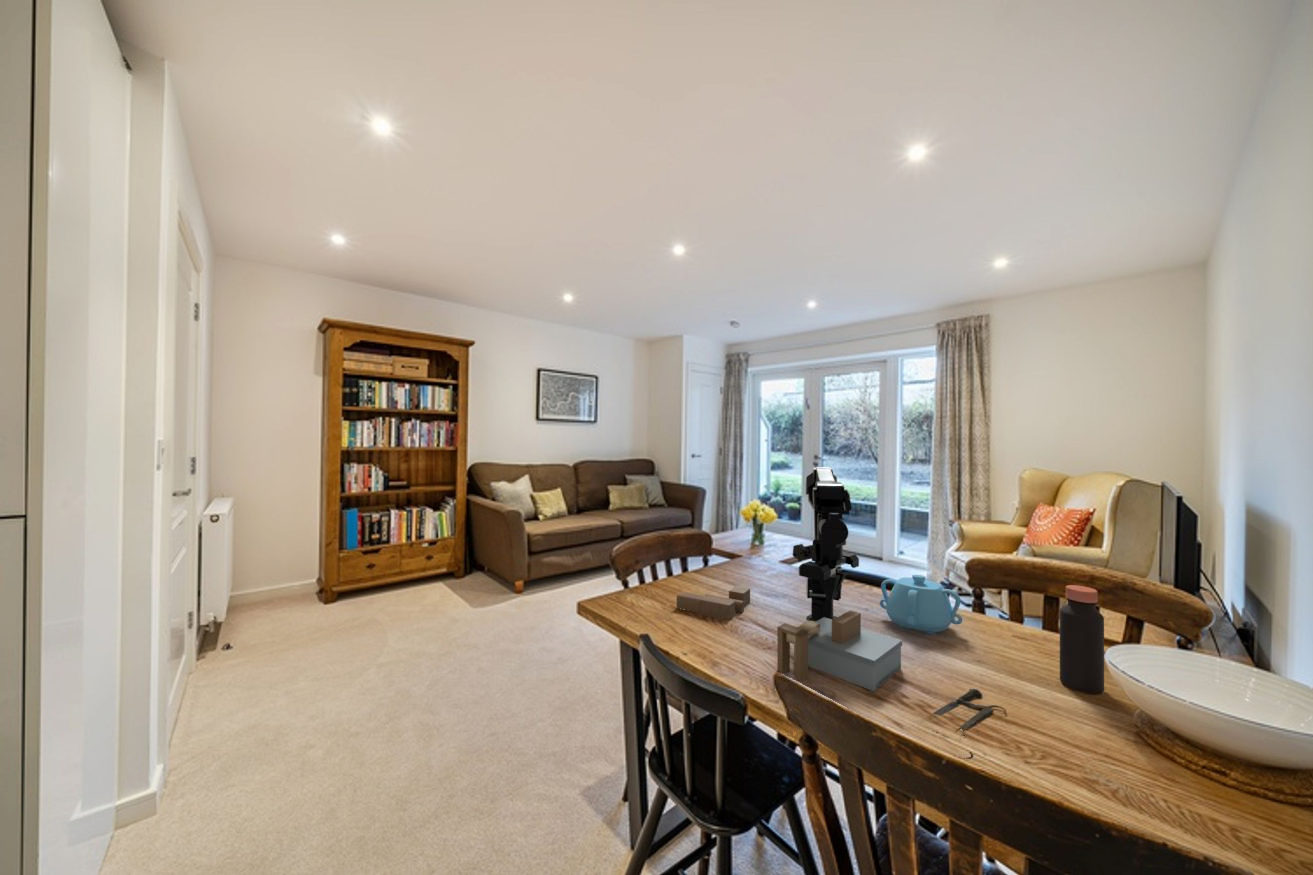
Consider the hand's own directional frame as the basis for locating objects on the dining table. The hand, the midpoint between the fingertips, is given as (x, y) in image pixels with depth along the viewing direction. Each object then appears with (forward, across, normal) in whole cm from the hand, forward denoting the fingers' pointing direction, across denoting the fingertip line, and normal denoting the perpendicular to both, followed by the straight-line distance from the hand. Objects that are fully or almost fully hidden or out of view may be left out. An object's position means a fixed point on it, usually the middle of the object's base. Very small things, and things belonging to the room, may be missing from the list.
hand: (829, 600), depth 114 cm
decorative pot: (+12, -32, +9) cm, 35 cm away
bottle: (+12, -22, +43) cm, 50 cm away
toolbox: (+12, +8, +6) cm, 15 cm away
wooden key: (+5, +12, 0) cm, 13 cm away
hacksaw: (+12, +9, +31) cm, 35 cm away
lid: (+7, +4, +6) cm, 10 cm away
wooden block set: (+12, -3, -38) cm, 40 cm away
